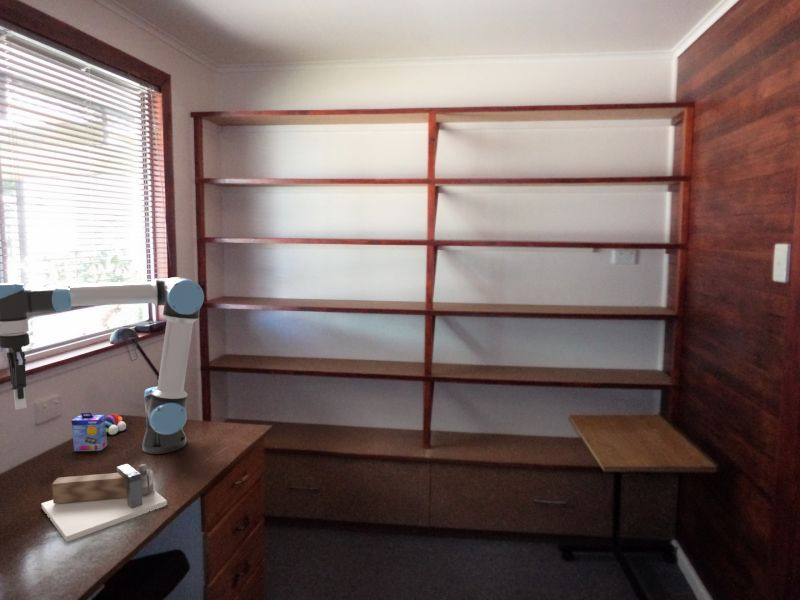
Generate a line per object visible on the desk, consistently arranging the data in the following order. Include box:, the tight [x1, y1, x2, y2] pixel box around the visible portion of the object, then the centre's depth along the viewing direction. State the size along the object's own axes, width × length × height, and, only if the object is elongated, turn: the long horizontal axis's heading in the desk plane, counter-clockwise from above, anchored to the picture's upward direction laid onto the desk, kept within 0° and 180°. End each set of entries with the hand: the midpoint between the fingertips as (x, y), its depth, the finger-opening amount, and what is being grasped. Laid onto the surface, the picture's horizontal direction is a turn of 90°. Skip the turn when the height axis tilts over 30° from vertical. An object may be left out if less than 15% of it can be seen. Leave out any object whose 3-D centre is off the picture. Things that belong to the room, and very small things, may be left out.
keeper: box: [116, 463, 142, 509], centre depth 157 cm, size 3×10×11 cm, turn 46°
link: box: [51, 463, 155, 503], centre depth 159 cm, size 27×5×8 cm, turn 101°
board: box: [40, 489, 168, 543], centre depth 157 cm, size 26×25×2 cm
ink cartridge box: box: [71, 411, 108, 452], centre depth 199 cm, size 10×6×14 cm, turn 95°
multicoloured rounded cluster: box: [105, 413, 127, 436], centre depth 216 cm, size 8×10×7 cm
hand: (20, 408), depth 166 cm, fingers closed
